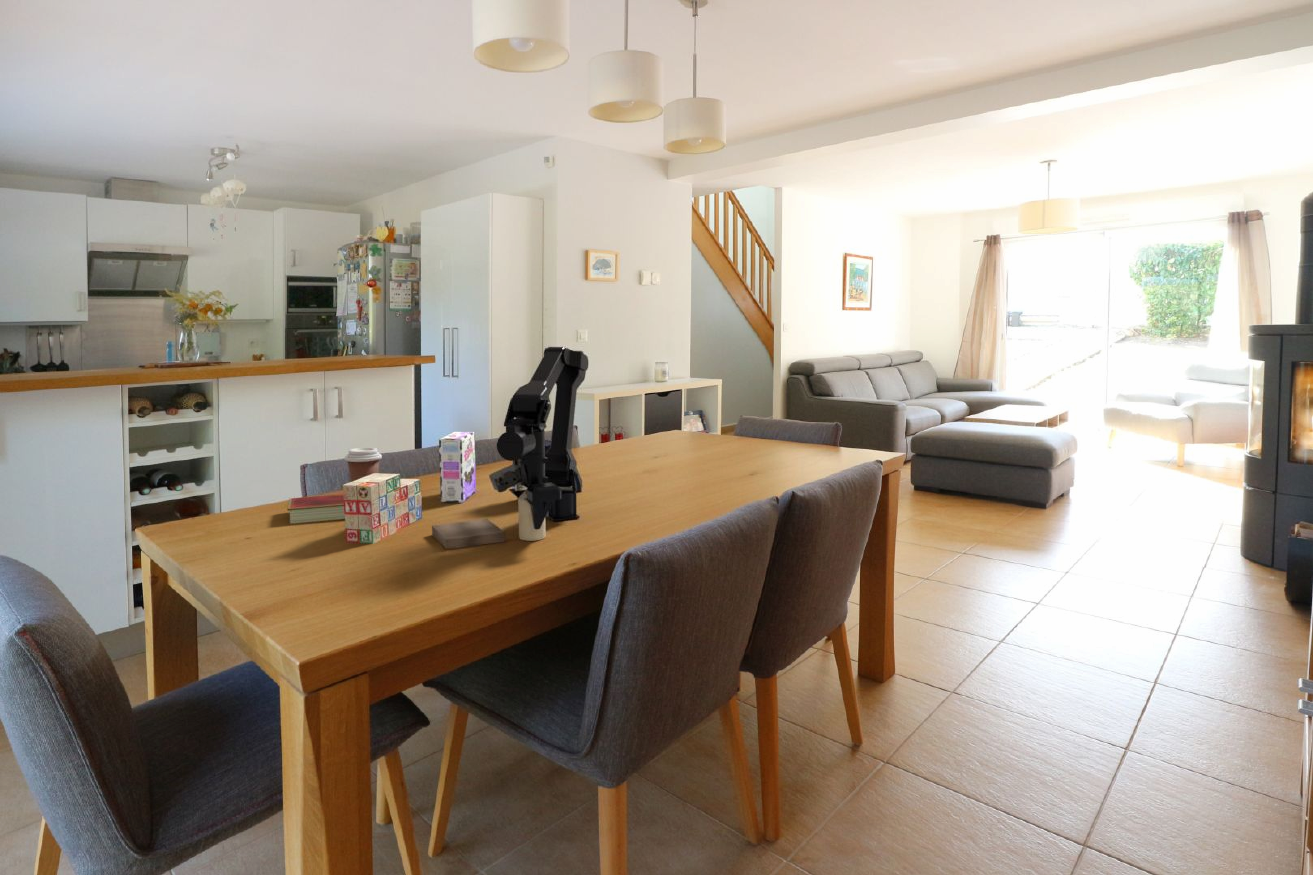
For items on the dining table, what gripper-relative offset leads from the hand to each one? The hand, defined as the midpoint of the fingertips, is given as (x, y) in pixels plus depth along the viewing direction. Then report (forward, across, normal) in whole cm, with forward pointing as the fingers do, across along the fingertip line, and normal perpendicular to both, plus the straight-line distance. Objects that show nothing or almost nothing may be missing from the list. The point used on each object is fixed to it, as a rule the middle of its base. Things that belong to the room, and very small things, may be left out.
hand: (532, 525), depth 158 cm
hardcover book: (+3, -41, -33) cm, 53 cm away
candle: (+3, 0, 0) cm, 3 cm away
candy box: (+3, -45, -3) cm, 45 cm away
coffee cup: (+3, -59, -24) cm, 64 cm away
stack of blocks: (+3, -21, -26) cm, 34 cm away
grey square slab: (+2, -6, -12) cm, 14 cm away
